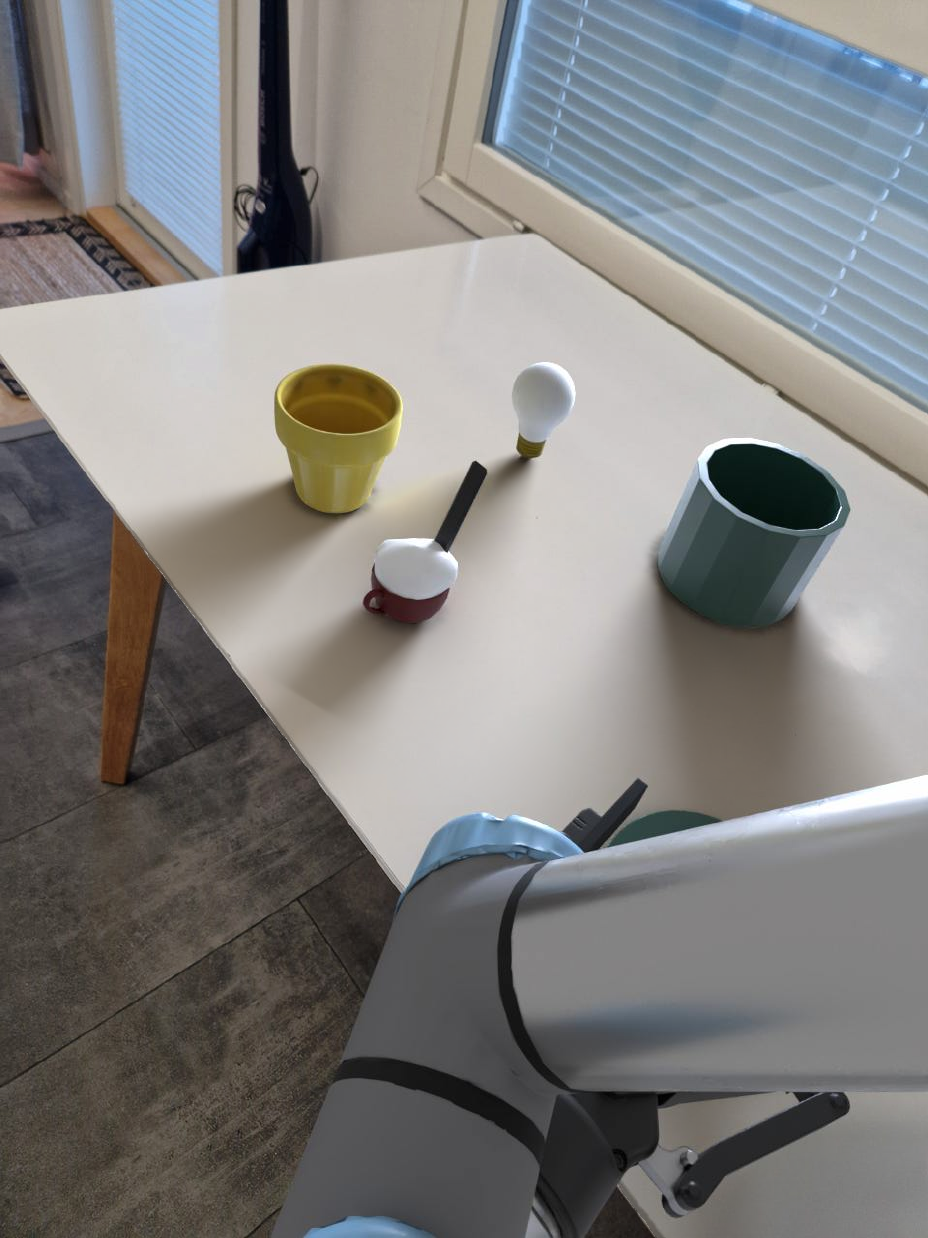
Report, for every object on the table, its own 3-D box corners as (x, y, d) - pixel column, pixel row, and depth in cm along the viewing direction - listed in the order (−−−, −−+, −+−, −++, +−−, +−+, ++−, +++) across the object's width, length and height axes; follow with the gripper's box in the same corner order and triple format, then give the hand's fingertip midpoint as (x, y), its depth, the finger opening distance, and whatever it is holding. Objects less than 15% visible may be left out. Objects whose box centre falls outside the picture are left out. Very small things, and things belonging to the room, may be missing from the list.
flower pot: (348, 546, 73) (356, 451, 66) (249, 494, 75) (247, 398, 68) (412, 487, 80) (426, 395, 73) (320, 441, 82) (324, 348, 75)
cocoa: (364, 642, 66) (379, 522, 57) (345, 584, 70) (356, 464, 61) (480, 625, 69) (510, 510, 60) (456, 571, 73) (481, 455, 64)
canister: (820, 595, 78) (878, 506, 71) (734, 648, 72) (788, 556, 64) (716, 514, 84) (760, 424, 77) (628, 556, 78) (667, 462, 70)
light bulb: (560, 448, 88) (586, 360, 81) (551, 481, 84) (577, 391, 77) (504, 432, 88) (525, 343, 81) (492, 465, 84) (513, 374, 77)
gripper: (301, 1007, 44) (548, 769, 57) (712, 1456, 35) (900, 1054, 48) (305, 947, 39) (577, 699, 51) (792, 1459, 30) (980, 1005, 42)
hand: (733, 869), depth 50 cm, fingers open, 13 cm apart
